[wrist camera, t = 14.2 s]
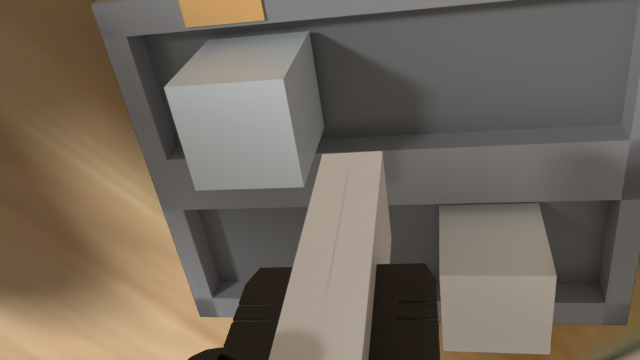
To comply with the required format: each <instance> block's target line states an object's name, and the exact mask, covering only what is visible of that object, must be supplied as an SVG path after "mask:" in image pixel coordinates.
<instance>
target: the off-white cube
mask: <svg viewBox="0 0 640 360" xmlns="http://www.w3.org/2000/svg"><path fill="white" fill-rule="evenodd" d="M439 277H440V297H441V317H442V337H443V351H454V352H486V353H518V354H550V346H551V335H552V324H553V312H554V301H555V290H556V279H557V275H556V271H555V267H554V263H553V259H552V255H551V250H550V246H549V242H548V238H547V234H546V230H545V226H544V222H543V218H542V214H541V210H540V206H539V203H520V204H475V205H439Z"/></svg>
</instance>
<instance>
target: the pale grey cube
mask: <svg viewBox="0 0 640 360" xmlns="http://www.w3.org/2000/svg"><path fill="white" fill-rule="evenodd" d="M164 90H165V93H166V97H167V100H168V103H169V106H170V110H171V113H172V116H173V119H174V122H175V126H176V129H177V132H178V135H179V139H180V142H181V145H182V148H183V152H184V155H185V158H186V161H187V164H188V168H189V171H190V174H191V177H192V181H193V184H194V187H195V190H196V191H198V190H231V189H265V188H298V187H304V186H305V183H306V180H307V177H308V174H309V171H310V168H311V165H312V162H313V159H314V156H315V153H316V150H317V147H318V144H319V142H320V139H321V136H322V133H323V130H324V121H323V115H322V109H321V103H320V96H319V90H318V84H317V77H316V71H315V65H314V58H313V52H312V46H311V40H310V33H309V31H304V32H293V33H282V34H271V35H260V36H249V37H238V38H226V39H215V40H208V41H207V42H206V43H205V44H204V45H203V46H202V47H201V48H200V49H199V50H198V51H197V52H196V53H195V55H194V56H193V57H192V58H191V59H190V60H189V61H188V62H187V63H186V64H185V65H184V66H183V67H182V69H181V70H180V71H179V72H178V73H177V74H176V75H175V76H174V77H173V78H172V79H171V80H170V81H169V82H168V84H167V85H166V86H165V87H164Z"/></svg>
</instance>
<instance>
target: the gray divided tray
mask: <svg viewBox="0 0 640 360" xmlns="http://www.w3.org/2000/svg"><path fill="white" fill-rule="evenodd" d="M91 8H92V11H93V14H94V17H95V19H96V22H97V25H98V28H99V31H100V34H101V36H102V39H103V42H104V45H105V48H106V51H107V53H108V56H109V59H110V62H111V65H112V68H113V71H114V73H115V76H116V79H117V82H118V85H119V88H120V90H121V93H122V96H123V99H124V102H125V105H126V107H127V110H128V113H129V116H130V119H131V122H132V124H133V127H134V130H135V133H136V136H137V139H138V141H139V144H140V147H141V150H142V153H143V156H144V159H145V161H146V164H147V167H148V170H149V173H150V176H151V178H152V181H153V184H154V187H155V190H156V193H157V195H158V198H159V201H160V204H161V207H162V210H163V212H164V215H165V218H166V221H167V224H168V227H169V229H170V232H171V235H172V238H173V241H174V244H175V247H176V249H177V252H178V255H179V258H180V261H181V264H182V266H183V269H184V272H185V275H186V278H187V281H188V283H189V286H190V289H191V292H192V295H193V298H194V300H195V303H196V306H197V309H198V312H199V315H200V317H234V315H235V312H236V310H237V307H239V301H240V298H241V295H242V292H243V289H244V287H245V284H246V283H247V282H248V281H249V280H250V279H251V277H252V276H253V275H254V274H255V273H256V272H257V271H258V270H259V268H271V267H293V264H294V261H295V257H296V253H297V249H298V245H299V242H300V238H301V234H302V230H303V226H304V222H305V219H306V215H307V211H308V207H309V203H310V199H311V196H312V192H313V188H314V184H315V180H316V176H317V173H318V169H319V165H320V161H321V157H322V154H335V153H353V152H371V151H382V152H383V161H384V171H385V181H386V190H387V200H388V209H389V219H390V229H391V254H390V264H410V263H425V264H426V265H427V267H428V268H429V270H430V272H431V273H432V275H433V276H434V278H435V280H436V286H437V304H438V322H442V317H441V297H440V277H439V205H475V204H520V203H539V206H540V210H541V214H542V218H543V222H544V226H545V230H546V234H547V238H548V242H549V246H550V250H551V255H552V259H553V263H554V267H555V271H556V275H557V279H556V290H555V301H554V312H553V324H584V325H627V321H628V315H629V310H630V305H631V299H632V294H633V288H634V283H635V277H636V272H637V267H638V261H639V256H640V0H97V1H96V2H94V3H93V4H91ZM304 31H309V33H310V40H311V46H312V52H313V58H314V65H315V71H316V77H317V84H318V90H319V96H320V103H321V109H322V115H323V121H324V130H323V133H322V136H321V139H320V142H319V144H318V147H317V150H316V153H315V156H314V159H313V162H312V165H311V168H310V171H309V174H308V177H307V180H306V183H305V186H304V187H298V188H265V189H231V190H198V191H196V190H195V187H194V184H193V181H192V177H191V174H190V171H189V168H188V164H187V161H186V158H185V155H184V152H183V148H182V145H181V142H180V139H179V135H178V132H177V129H176V126H175V122H174V119H173V116H172V113H171V110H170V106H169V103H168V100H167V97H166V93H165V90H164V87H165V86H166V85H167V84H168V82H169V81H170V80H171V79H172V78H173V77H174V76H175V75H176V74H177V73H178V72H179V71H180V70H181V69H182V67H183V66H184V65H185V64H186V63H187V62H188V61H189V60H190V59H191V58H192V57H193V56H194V55H195V53H196V52H197V51H198V50H199V49H200V48H201V47H202V46H203V45H204V44H205V43H206V42H207V41H208V40H215V39H226V38H238V37H249V36H260V35H271V34H282V33H293V32H304Z"/></svg>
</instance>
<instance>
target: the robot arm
mask: <svg viewBox="0 0 640 360" xmlns="http://www.w3.org/2000/svg"><path fill="white" fill-rule="evenodd" d="M390 254H391V229H390V219H389V209H388V200H387V190H386V181H385V171H384V161H383V152H382V151H371V152H353V153H335V154H322V157H321V161H320V165H319V169H318V173H317V176H316V180H315V184H314V188H313V192H312V196H311V199H310V203H309V207H308V211H307V215H306V219H305V222H304V226H303V230H302V234H301V238H300V242H299V245H298V249H297V253H296V257H295V261H294V264H293V267H271V268H259V270H258V271H257V272H256V273H255V274H254V275H253V276H252V277H251V279H250V280H249V281H248V282H247V283H246V284H245V287H244V289H243V292H242V295H241V298H240V301H239V307H237V310H236V312H235V315H234V318H233V323H232V324H231V327H230V330H229V333H228V335H227V338H226V341H225V344H224V347H223V348H215V349H208V350H205V351H203V352H200V353H198V354H196V355H194V356H192V357H190V358H189V359H188V360H440V345H439V323H438V304H437V286H436V280H435V278H434V276H433V275H432V273H431V272H430V270H429V268H428V267H427V265H426V264H425V263H410V264H390Z"/></svg>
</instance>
